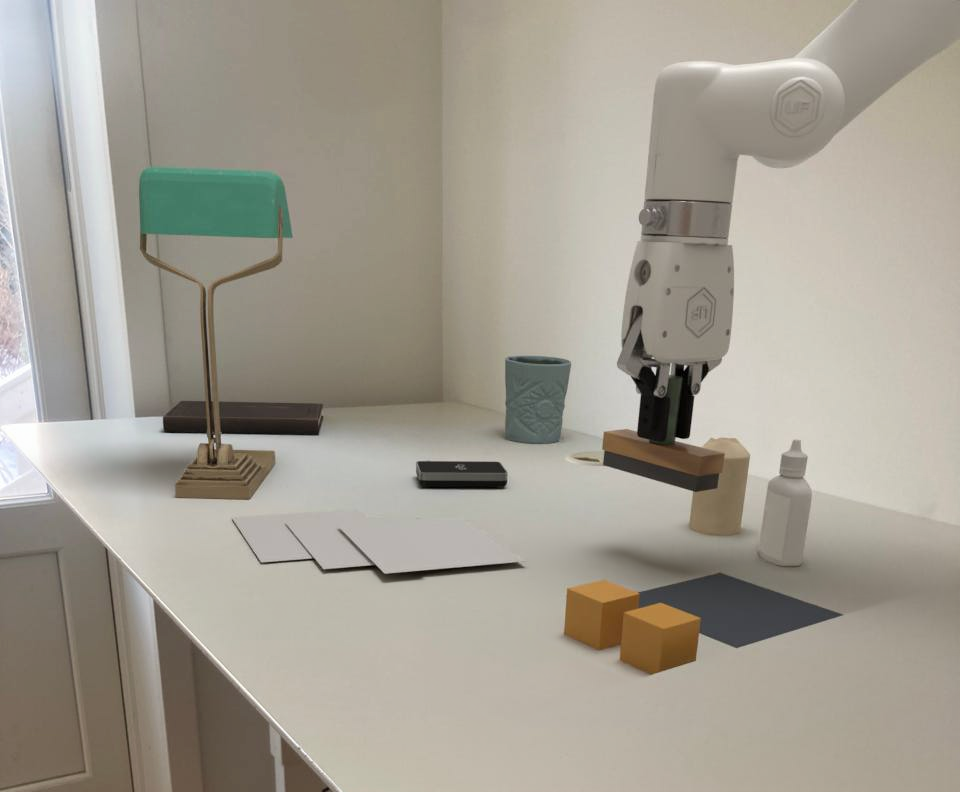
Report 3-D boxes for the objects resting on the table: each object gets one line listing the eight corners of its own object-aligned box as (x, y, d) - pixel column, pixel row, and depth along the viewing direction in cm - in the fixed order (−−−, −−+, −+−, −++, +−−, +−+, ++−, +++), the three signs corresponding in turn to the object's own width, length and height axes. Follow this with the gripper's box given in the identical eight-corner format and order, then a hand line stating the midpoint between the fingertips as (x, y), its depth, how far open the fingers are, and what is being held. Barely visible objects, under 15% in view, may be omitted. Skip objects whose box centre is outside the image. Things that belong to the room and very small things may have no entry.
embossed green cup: (517, 430, 166) (521, 353, 161) (576, 437, 162) (581, 359, 157) (490, 439, 157) (493, 359, 153) (551, 447, 153) (556, 365, 149)
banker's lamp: (143, 496, 118) (113, 161, 105) (185, 459, 137) (164, 172, 124) (281, 499, 118) (268, 166, 105) (304, 462, 138) (295, 176, 125)
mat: (719, 574, 98) (719, 572, 98) (889, 632, 84) (889, 630, 84) (613, 600, 90) (613, 598, 90) (782, 668, 76) (783, 666, 76)
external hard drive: (415, 476, 132) (415, 460, 131) (500, 476, 134) (501, 461, 133) (419, 488, 126) (419, 472, 125) (508, 489, 127) (509, 473, 126)
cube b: (600, 626, 83) (603, 579, 82) (635, 641, 81) (640, 593, 79) (563, 635, 81) (566, 588, 80) (598, 652, 78) (602, 602, 77)
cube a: (655, 651, 79) (660, 602, 78) (695, 668, 76) (701, 617, 75) (618, 662, 77) (623, 612, 75) (658, 680, 74) (663, 628, 72)
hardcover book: (181, 414, 168) (180, 400, 167) (323, 417, 171) (323, 403, 170) (163, 432, 154) (162, 417, 153) (318, 435, 156) (318, 420, 155)
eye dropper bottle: (754, 564, 101) (771, 443, 96) (758, 549, 106) (775, 433, 101) (800, 570, 100) (820, 447, 95) (802, 555, 105) (821, 437, 100)
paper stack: (279, 590, 89) (279, 582, 88) (231, 517, 110) (231, 511, 110) (525, 567, 97) (526, 560, 97) (436, 504, 118) (436, 498, 118)
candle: (730, 540, 109) (742, 446, 105) (681, 531, 112) (691, 439, 108) (746, 529, 113) (758, 438, 110) (699, 520, 116) (709, 432, 112)
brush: (623, 461, 103) (633, 366, 99) (720, 489, 94) (734, 385, 90) (600, 464, 101) (609, 368, 97) (696, 493, 92) (710, 387, 88)
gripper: (652, 222, 82) (630, 453, 88) (779, 230, 91) (750, 437, 98) (588, 221, 87) (572, 438, 94) (713, 228, 96) (691, 425, 103)
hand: (663, 436), depth 96 cm, fingers closed on brush, 2 cm apart
